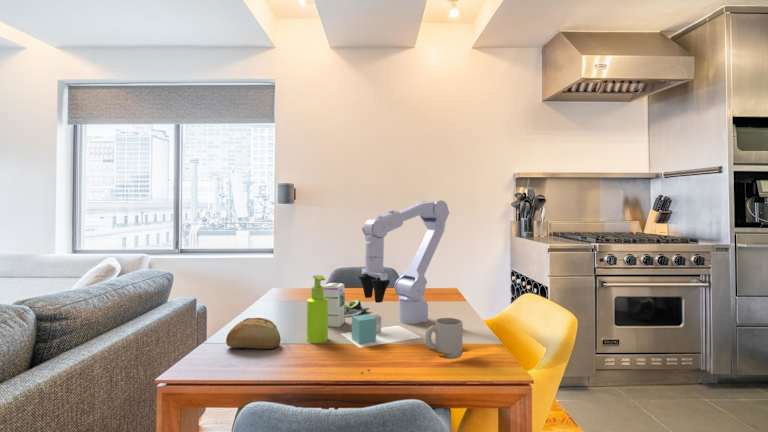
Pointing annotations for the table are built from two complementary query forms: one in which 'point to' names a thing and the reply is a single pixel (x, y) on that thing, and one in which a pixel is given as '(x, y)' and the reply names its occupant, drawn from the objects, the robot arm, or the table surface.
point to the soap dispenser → (317, 314)
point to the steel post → (377, 323)
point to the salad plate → (354, 308)
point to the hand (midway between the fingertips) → (373, 299)
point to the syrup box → (335, 303)
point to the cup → (446, 337)
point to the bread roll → (254, 334)
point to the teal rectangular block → (363, 329)
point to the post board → (386, 336)
